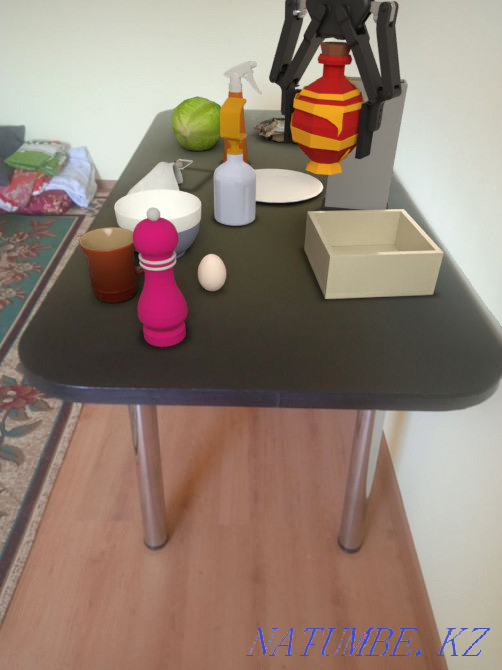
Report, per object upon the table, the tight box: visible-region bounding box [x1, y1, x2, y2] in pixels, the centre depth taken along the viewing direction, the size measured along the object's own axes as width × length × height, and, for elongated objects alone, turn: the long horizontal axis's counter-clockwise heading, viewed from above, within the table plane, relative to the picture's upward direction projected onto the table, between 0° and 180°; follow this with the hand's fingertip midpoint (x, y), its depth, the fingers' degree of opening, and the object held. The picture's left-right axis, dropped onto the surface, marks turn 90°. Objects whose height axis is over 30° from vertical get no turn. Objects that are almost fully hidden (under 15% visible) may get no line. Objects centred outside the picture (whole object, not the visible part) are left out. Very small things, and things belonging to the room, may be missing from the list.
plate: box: [254, 168, 324, 205], centre depth 131 cm, size 25×25×1 cm
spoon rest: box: [126, 161, 184, 195], centre depth 120 cm, size 24×12×7 cm, turn 173°
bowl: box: [113, 189, 202, 260], centre depth 98 cm, size 16×16×10 cm
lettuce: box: [171, 95, 222, 152], centre depth 155 cm, size 15×23×16 cm
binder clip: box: [174, 158, 194, 177], centre depth 135 cm, size 6×4×6 cm, turn 162°
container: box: [320, 76, 409, 211], centre depth 109 cm, size 7×18×30 cm, turn 80°
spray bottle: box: [222, 60, 263, 164], centre depth 140 cm, size 7×11×26 cm, turn 72°
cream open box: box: [303, 208, 445, 300], centre depth 93 cm, size 19×19×8 cm
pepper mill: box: [133, 208, 189, 348], centre depth 72 cm, size 7×7×20 cm
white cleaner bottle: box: [213, 97, 257, 227], centre depth 108 cm, size 9×9×25 cm
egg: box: [197, 253, 227, 292], centre depth 87 cm, size 5×5×7 cm
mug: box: [78, 226, 145, 304], centre depth 85 cm, size 12×9×10 cm
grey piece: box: [253, 117, 298, 144], centre depth 169 cm, size 30×22×5 cm
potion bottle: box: [290, 41, 365, 176], centre depth 66 cm, size 10×10×15 cm
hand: (325, 148), depth 69 cm, fingers closed on potion bottle, 10 cm apart
